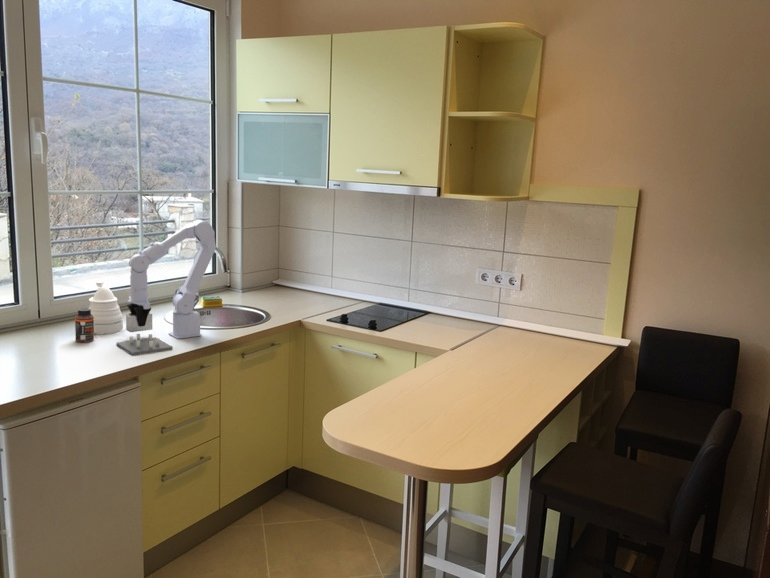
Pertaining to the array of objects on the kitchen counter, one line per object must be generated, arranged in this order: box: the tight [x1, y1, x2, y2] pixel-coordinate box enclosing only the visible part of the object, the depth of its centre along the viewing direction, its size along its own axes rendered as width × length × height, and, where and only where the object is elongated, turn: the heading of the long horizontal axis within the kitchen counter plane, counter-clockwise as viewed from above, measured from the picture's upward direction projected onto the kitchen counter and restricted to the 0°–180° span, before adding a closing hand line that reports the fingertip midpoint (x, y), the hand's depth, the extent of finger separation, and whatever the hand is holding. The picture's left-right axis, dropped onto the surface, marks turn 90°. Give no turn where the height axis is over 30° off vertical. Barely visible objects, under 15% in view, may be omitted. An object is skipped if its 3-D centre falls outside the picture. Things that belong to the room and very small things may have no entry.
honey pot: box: [87, 280, 124, 334], centre depth 242 cm, size 13×13×18 cm
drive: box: [125, 312, 153, 333], centre depth 234 cm, size 8×4×6 cm, turn 133°
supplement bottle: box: [74, 307, 95, 343], centre depth 227 cm, size 6×6×11 cm
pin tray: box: [116, 333, 173, 356], centre depth 224 cm, size 14×14×4 cm
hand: (139, 324), depth 234 cm, fingers closed on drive, 4 cm apart
